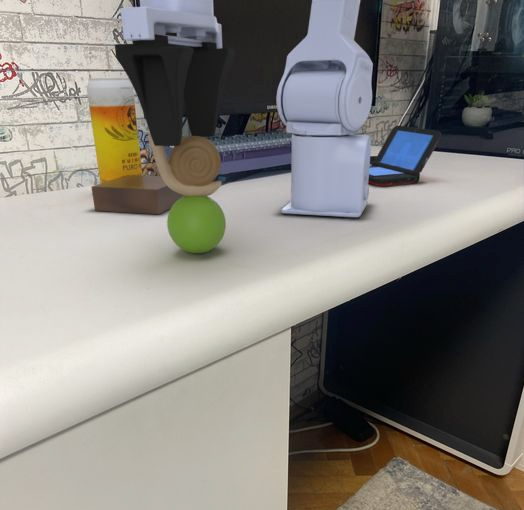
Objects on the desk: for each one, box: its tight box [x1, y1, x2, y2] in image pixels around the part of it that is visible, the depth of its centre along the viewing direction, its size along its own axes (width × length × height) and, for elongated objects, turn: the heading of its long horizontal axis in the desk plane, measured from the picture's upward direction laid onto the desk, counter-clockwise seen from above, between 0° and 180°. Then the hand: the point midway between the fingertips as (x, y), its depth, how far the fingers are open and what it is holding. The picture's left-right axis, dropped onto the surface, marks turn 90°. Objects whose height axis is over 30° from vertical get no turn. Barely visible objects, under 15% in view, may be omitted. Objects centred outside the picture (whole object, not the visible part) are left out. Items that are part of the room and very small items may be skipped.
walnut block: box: [91, 175, 184, 215], centre depth 70 cm, size 9×9×3 cm
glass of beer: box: [86, 77, 144, 184], centre depth 75 cm, size 6×6×15 cm
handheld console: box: [368, 125, 442, 187], centre depth 85 cm, size 12×11×7 cm
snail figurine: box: [147, 130, 227, 254], centre depth 48 cm, size 5×6×12 cm
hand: (186, 140), depth 47 cm, fingers open, 7 cm apart
